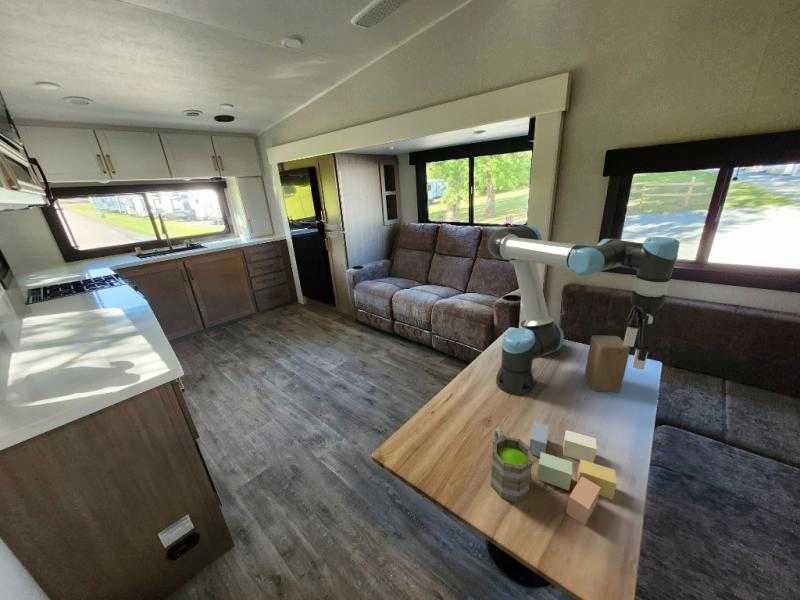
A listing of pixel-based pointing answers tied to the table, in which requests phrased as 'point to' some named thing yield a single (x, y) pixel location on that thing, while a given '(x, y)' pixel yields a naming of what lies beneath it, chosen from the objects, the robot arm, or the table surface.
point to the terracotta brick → (583, 500)
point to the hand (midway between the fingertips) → (632, 356)
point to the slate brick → (539, 438)
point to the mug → (511, 467)
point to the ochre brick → (599, 477)
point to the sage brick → (555, 471)
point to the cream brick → (579, 446)
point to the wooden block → (606, 363)
